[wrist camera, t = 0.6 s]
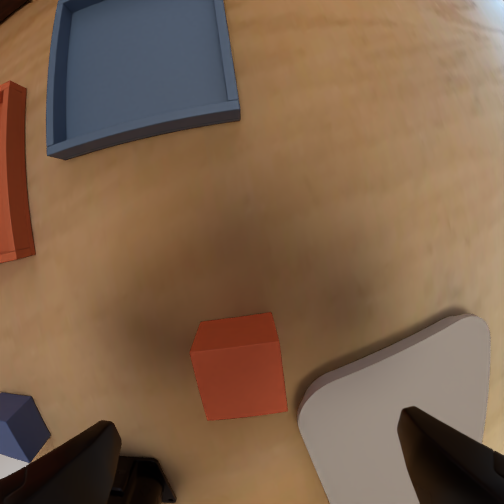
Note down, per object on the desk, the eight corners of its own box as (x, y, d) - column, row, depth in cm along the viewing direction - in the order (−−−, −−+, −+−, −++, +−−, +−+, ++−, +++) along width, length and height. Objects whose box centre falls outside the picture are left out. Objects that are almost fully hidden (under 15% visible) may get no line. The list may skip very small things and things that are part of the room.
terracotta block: (279, 373, 21) (287, 411, 16) (213, 381, 21) (207, 421, 16) (271, 311, 20) (279, 340, 15) (200, 321, 20) (189, 352, 15)
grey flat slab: (471, 294, 20) (489, 301, 18) (464, 475, 24) (472, 485, 22) (282, 380, 21) (286, 398, 18) (344, 532, 24) (348, 545, 22)
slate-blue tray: (240, 120, 18) (240, 109, 16) (65, 160, 18) (46, 156, 16) (217, -27, 16) (215, -46, 14) (70, 14, 16) (57, 0, 14)
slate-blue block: (51, 435, 21) (30, 463, 17) (20, 429, 21) (-2, 453, 17) (31, 396, 21) (5, 422, 16) (1, 391, 21) (-24, 414, 16)
